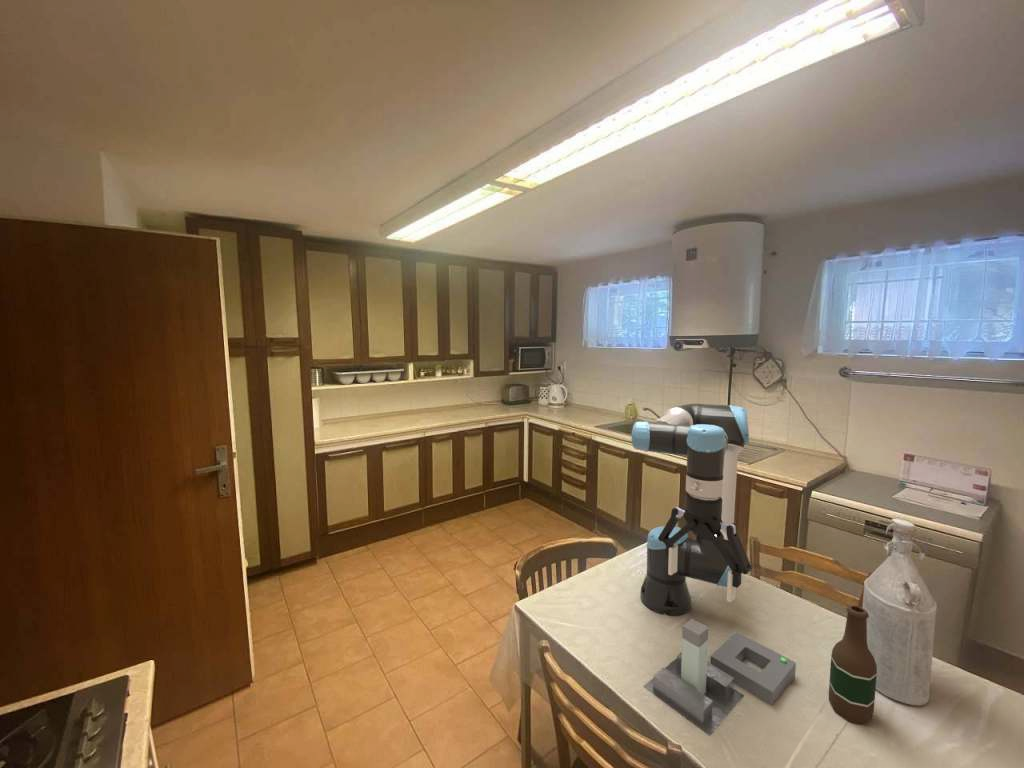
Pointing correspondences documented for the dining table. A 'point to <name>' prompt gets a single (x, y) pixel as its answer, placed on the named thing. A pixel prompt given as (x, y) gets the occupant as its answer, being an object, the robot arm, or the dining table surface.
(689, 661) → the plug
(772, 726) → the dining table surface
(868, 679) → the beer bottle
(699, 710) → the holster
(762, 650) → the port
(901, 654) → the canister
